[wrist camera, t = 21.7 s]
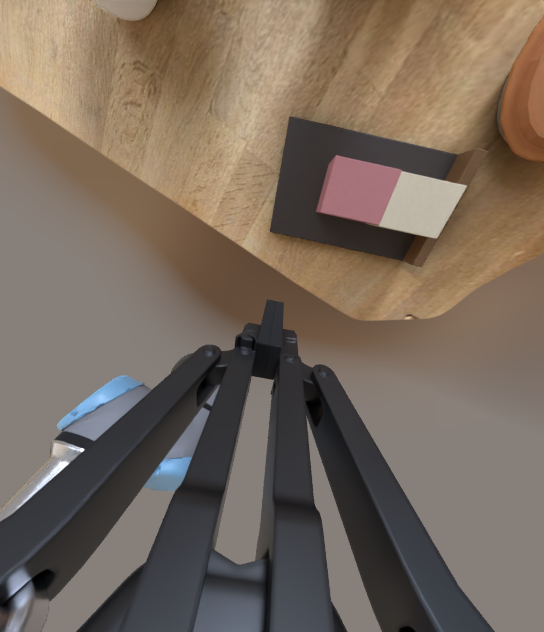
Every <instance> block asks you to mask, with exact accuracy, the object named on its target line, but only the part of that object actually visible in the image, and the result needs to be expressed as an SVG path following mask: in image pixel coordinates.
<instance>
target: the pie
mask: <svg viewBox="0 0 544 632" xmlns="http://www.w3.org/2000/svg"><path fill="white" fill-rule="evenodd" d="M496 119H497V124H498V129H499V133H500V134H501V136H502V137H503V139H504V140H505V141H506V143H507V144H508V145H509V146H510V148H511V150H512V152H513V154H515V155H517V156H520V157H522V158H524V159H526V160H529V161H540V162H544V16H543V18H542V19H541V20H540V22H539V23H538V25H537V26H536V27H535V29H534V30H533V31H532V33H531V35H530V36H529V38H528V40H527V42H526V43H525V45H524V47H523V49H522V50H521V52H520V54H519V55H518V57H517V59H516V61H515V62H514V64H513V66H512V69H511V72H510V74H509V76H508V78H507V80H506V82H505V84H504V86H503V89H502V92H501V95H500V98H499V101H498V109H497V118H496Z"/></svg>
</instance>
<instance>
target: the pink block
mask: <svg viewBox="0 0 544 632" xmlns="http://www.w3.org/2000/svg"><path fill="white" fill-rule="evenodd" d="M401 171H402V170H400V169H396V168H391V167H387V166H382V165H378V164H373V163H369V162H364V161H360V160H355V159H351V158H346V157H342V156H337V155H336V156H335V157H334V158H333V160H332V161H331V162H330V163H329V165H328V169H327V172H326V176H325V180H324V184H323V187H322V191H321V195H320V199H319V203H318V206H317V210H316V212H318V213H323V214H327V215H332V216H336V217H341V218H346V219H350V220H355V221H359V222H364V223H369V224H375V225H379V224H380V221H381V219H382V217H383V214H384V212H385V209H386V207H387V205H388V202H389V200H390V198H391V195H392V193H393V190H394V188H395V186H396V183H397V181H398V178H399V176H400V174H401Z"/></svg>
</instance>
